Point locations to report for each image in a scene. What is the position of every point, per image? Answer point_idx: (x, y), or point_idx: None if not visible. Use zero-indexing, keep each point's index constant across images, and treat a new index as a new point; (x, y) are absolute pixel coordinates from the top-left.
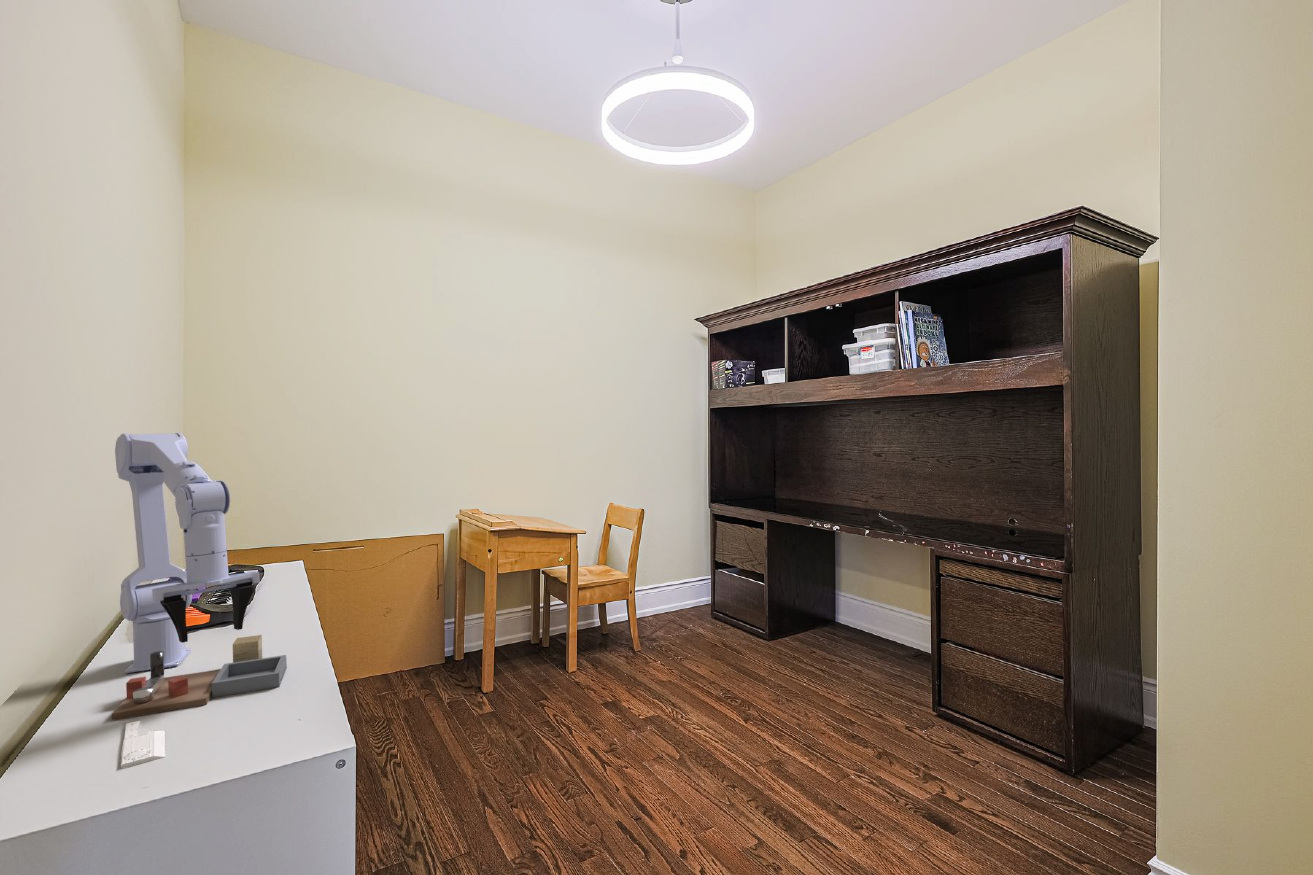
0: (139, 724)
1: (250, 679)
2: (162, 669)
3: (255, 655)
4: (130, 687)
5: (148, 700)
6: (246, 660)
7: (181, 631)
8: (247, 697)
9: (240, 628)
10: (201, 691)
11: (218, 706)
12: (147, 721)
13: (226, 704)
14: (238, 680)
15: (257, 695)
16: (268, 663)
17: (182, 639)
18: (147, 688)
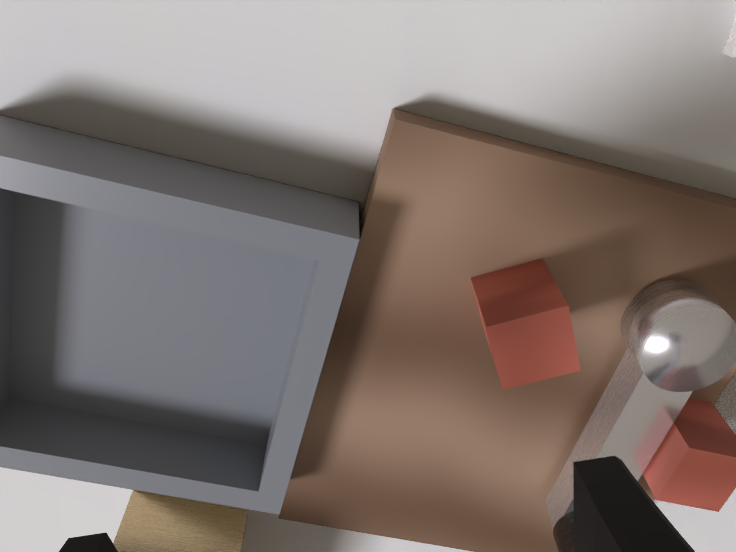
0: (734, 27)
1: (136, 182)
2: (572, 542)
3: (128, 548)
4: (722, 437)
5: (655, 285)
6: (178, 537)
7: (689, 548)
8: (173, 57)
9: (77, 541)
10: (407, 261)
11: (335, 18)
12: (687, 61)
13: (291, 19)
14: (207, 197)
15: (115, 48)
16: (61, 435)
17: (633, 478)
18: (670, 359)
